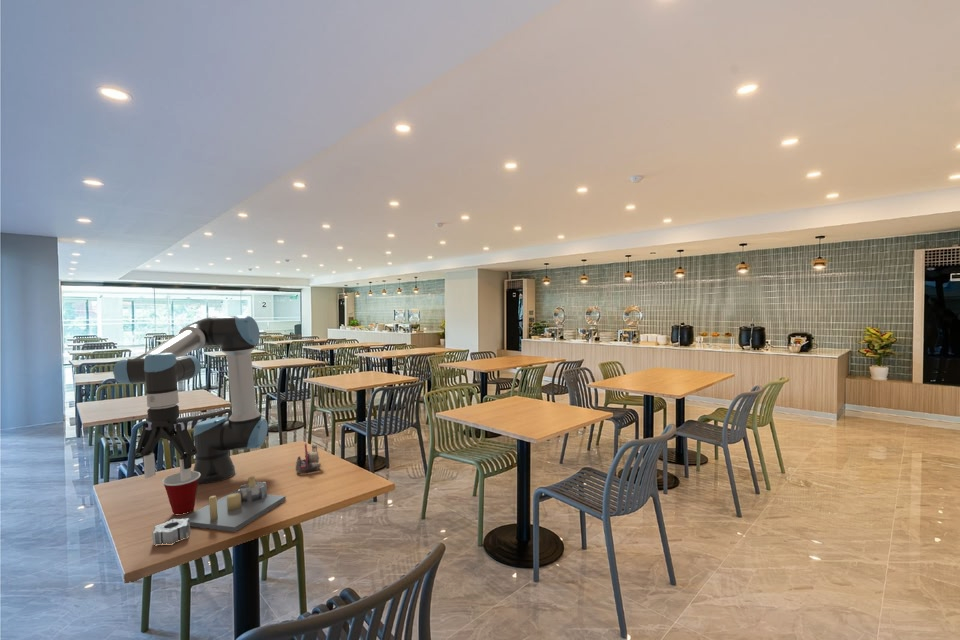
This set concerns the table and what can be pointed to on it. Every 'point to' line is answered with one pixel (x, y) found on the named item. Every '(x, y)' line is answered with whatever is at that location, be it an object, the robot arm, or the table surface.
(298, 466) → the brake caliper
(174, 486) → the plastic cup
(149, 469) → the robot arm
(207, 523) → the plate
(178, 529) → the planet gear
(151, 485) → the table surface
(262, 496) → the seated gear
